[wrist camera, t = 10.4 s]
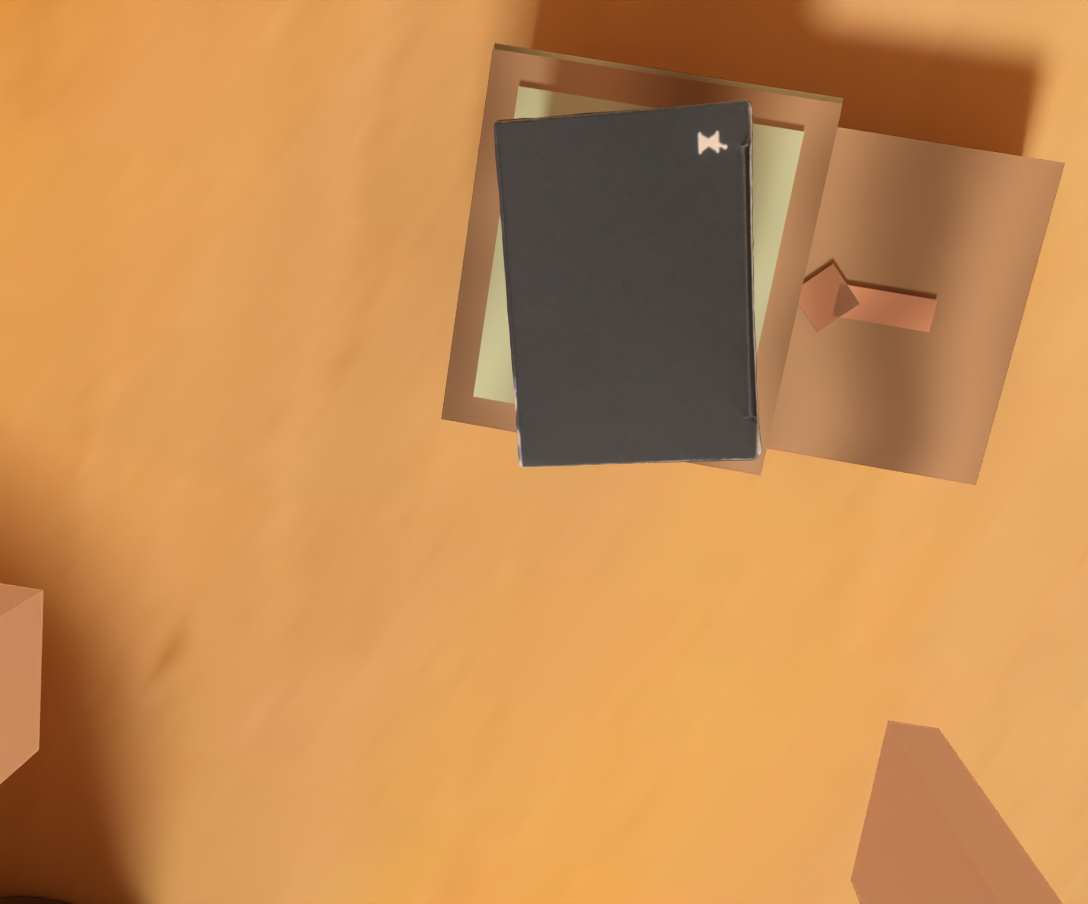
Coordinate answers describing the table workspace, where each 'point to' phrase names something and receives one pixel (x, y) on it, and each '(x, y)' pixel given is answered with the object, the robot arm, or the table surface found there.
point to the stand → (809, 269)
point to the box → (631, 284)
